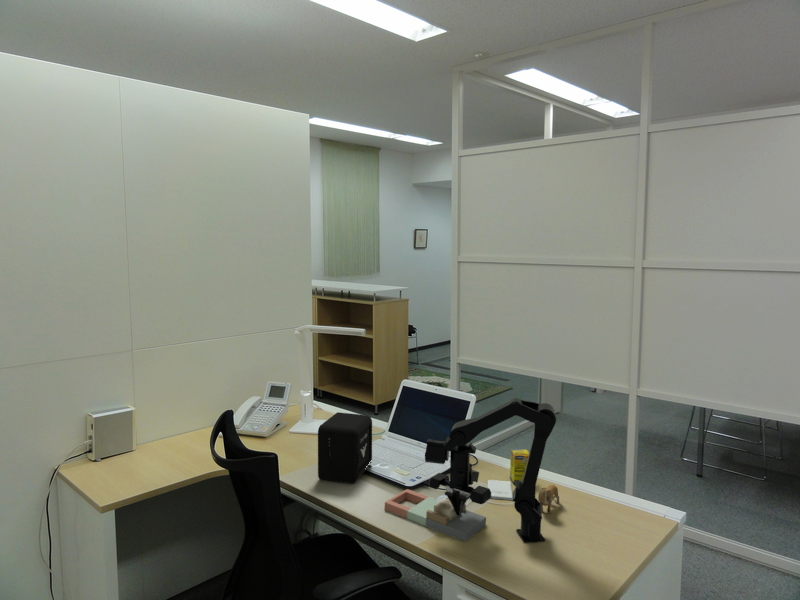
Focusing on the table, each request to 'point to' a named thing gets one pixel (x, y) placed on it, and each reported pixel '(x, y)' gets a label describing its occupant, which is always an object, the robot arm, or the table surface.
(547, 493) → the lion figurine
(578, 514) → the table surface
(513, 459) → the supplement box
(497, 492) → the external hard drive
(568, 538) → the table surface
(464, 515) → the board
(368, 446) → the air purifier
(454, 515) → the block
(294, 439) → the table surface
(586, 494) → the table surface
